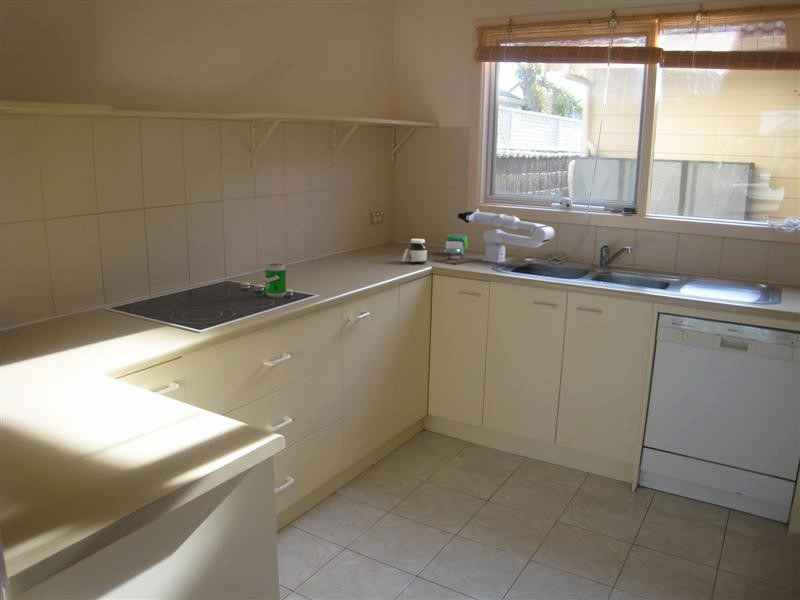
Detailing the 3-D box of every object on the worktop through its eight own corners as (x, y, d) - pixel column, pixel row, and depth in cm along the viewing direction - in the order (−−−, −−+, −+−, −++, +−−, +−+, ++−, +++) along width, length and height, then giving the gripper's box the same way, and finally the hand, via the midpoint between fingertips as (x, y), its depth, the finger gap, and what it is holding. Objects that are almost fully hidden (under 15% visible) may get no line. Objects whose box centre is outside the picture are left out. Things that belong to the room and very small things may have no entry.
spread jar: (428, 264, 334) (429, 240, 332) (407, 265, 330) (407, 241, 328) (418, 260, 345) (419, 237, 342) (397, 261, 341) (398, 238, 338)
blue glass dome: (461, 252, 348) (461, 240, 346) (462, 255, 340) (463, 243, 339) (443, 252, 347) (444, 240, 346) (445, 254, 340) (445, 242, 338)
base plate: (473, 261, 345) (473, 254, 344) (455, 264, 335) (456, 257, 334) (451, 257, 354) (451, 251, 353) (433, 261, 344) (434, 254, 343)
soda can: (277, 292, 269) (276, 262, 266) (290, 295, 264) (289, 264, 261) (261, 295, 263) (261, 264, 260) (274, 299, 258) (274, 267, 256)
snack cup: (473, 256, 359) (474, 237, 357) (456, 258, 354) (456, 238, 352) (457, 252, 372) (457, 233, 370) (440, 253, 367) (440, 234, 365)
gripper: (493, 209, 351) (471, 206, 360) (476, 211, 341) (454, 208, 349) (492, 223, 353) (470, 220, 361) (475, 225, 342) (454, 222, 351)
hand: (462, 215), depth 355 cm, fingers open, 7 cm apart
